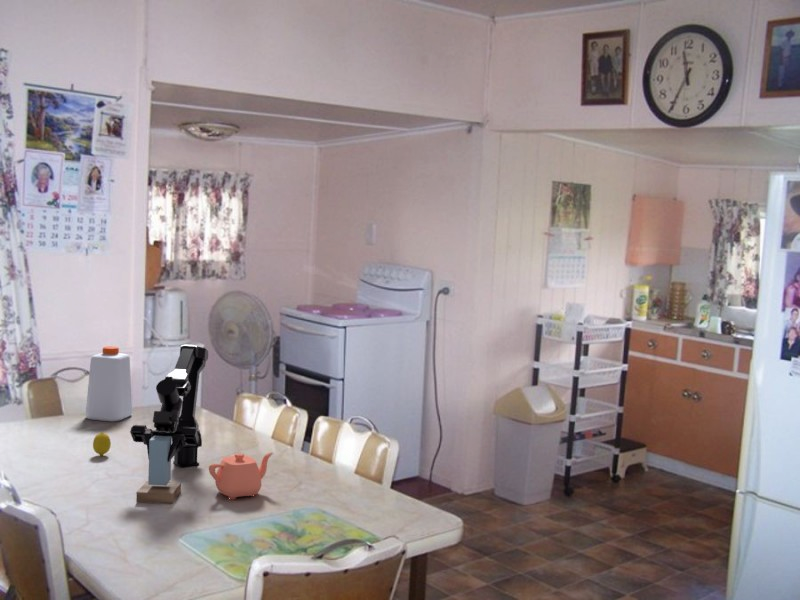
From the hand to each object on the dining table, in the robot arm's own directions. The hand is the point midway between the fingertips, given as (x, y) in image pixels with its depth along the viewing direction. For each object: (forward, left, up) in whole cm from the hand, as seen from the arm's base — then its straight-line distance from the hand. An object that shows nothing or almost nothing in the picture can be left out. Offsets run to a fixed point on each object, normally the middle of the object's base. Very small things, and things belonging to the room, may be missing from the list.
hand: (158, 460), depth 235 cm
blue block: (-1, -1, -7) cm, 7 cm away
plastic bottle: (-22, -100, -11) cm, 104 cm away
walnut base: (-1, -1, -11) cm, 11 cm away
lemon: (-1, -49, -11) cm, 51 cm away
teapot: (-22, +8, -11) cm, 26 cm away
